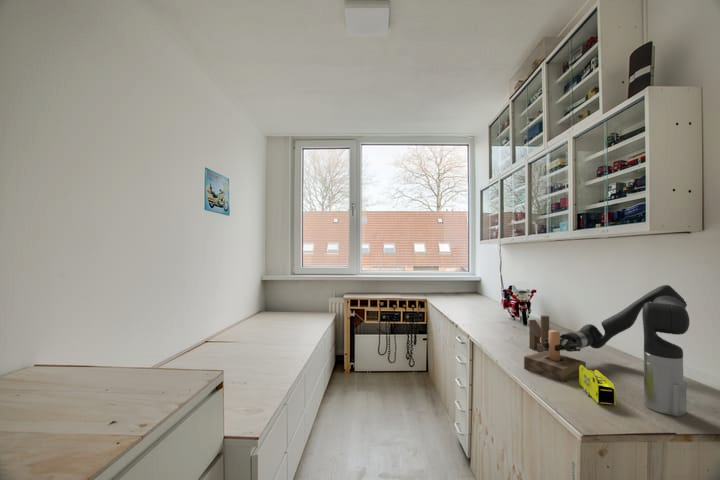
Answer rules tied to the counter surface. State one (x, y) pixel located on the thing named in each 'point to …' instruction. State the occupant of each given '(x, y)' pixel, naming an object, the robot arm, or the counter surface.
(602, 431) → the counter surface
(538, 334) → the wooden block
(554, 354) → the pin
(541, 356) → the socket block
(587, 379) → the yellow toy chassis
